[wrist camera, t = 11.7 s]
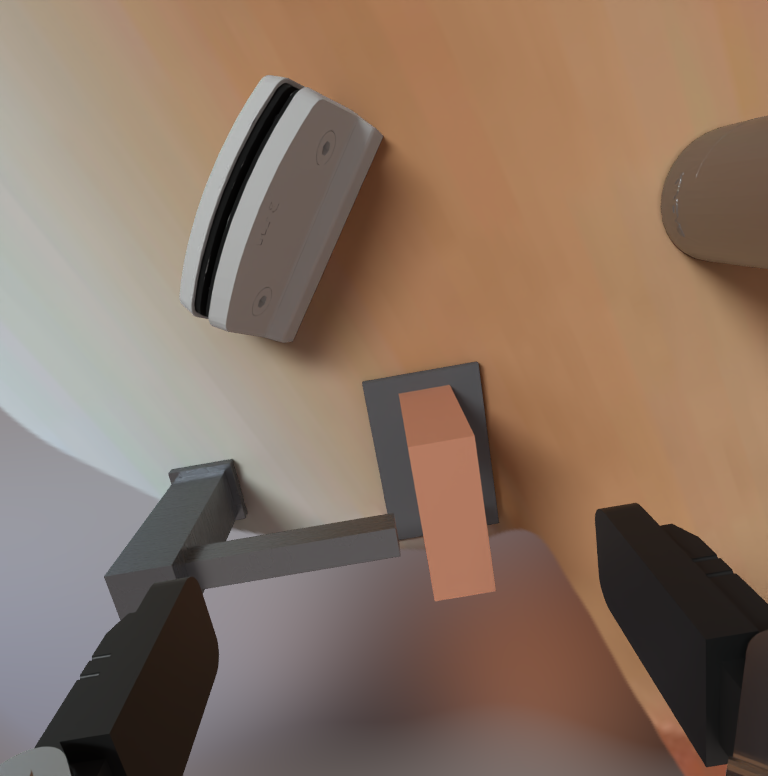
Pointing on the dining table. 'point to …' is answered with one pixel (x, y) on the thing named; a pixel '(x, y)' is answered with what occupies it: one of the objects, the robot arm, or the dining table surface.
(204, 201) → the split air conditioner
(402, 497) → the mat
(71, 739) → the robot arm
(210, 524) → the bracket
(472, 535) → the pink block
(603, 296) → the dining table surface
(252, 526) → the dining table surface
